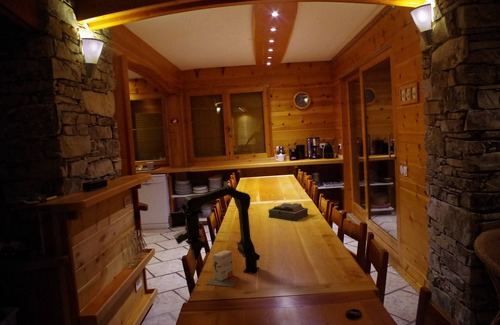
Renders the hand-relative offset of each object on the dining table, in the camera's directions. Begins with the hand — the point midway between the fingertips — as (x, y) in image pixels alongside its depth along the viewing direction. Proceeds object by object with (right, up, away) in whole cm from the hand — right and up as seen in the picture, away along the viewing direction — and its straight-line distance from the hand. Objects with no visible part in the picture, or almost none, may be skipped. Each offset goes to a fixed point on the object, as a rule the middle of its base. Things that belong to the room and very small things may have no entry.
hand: (195, 257), depth 157 cm
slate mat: (+12, -12, +2) cm, 17 cm away
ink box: (+12, -12, +8) cm, 19 cm away
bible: (+54, +1, +110) cm, 123 cm away
